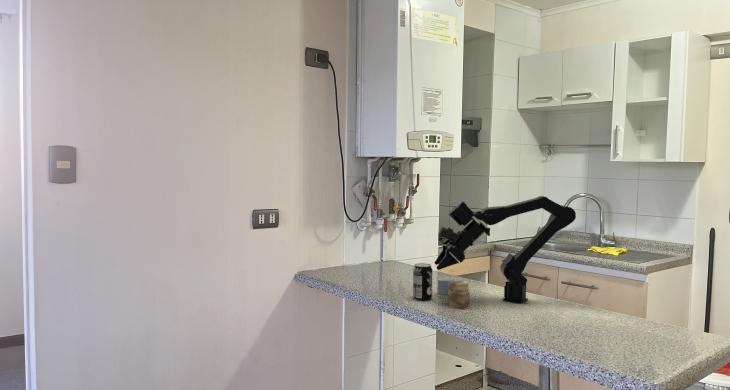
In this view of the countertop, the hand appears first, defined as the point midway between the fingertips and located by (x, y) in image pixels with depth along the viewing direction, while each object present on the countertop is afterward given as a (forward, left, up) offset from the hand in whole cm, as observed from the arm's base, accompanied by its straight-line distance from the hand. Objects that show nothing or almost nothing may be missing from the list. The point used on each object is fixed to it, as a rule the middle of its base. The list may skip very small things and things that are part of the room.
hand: (436, 266), depth 182 cm
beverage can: (+4, +3, -12) cm, 13 cm away
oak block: (-3, -9, -12) cm, 15 cm away
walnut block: (-11, +3, -12) cm, 16 cm away
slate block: (+3, -10, -12) cm, 16 cm away
